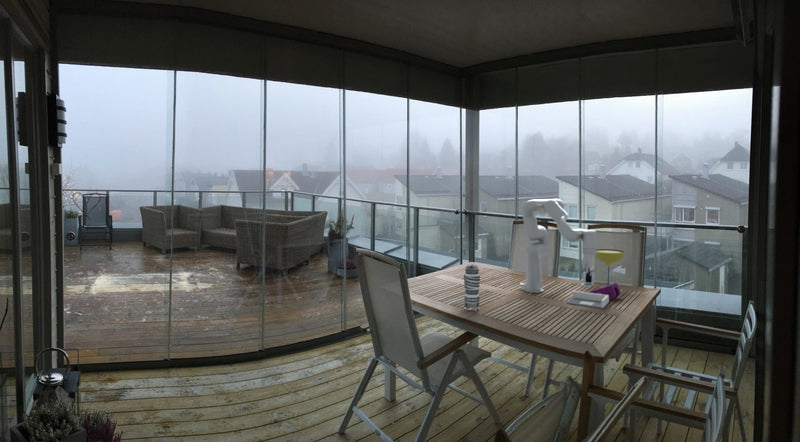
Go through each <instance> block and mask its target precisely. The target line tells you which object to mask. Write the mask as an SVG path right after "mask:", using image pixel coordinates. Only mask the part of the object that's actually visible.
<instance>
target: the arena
mask: <svg viewBox="0 0 800 442" xmlns="http://www.w3.org/2000/svg"><path fill="white" fill-rule="evenodd" d="M572 292H573V293H572V298H570V299H569V301H567V302H566V304H567V305H573V306H580V307H586V308H594V309H601V310H602V309H603V310H604V309H605V307H606V306H607V305H608V304H609V302H610V301H609V295H602V294H601V293H596V294H594V293H587V292H586V291H585V292H583V291H579V290H573V291H572Z"/></svg>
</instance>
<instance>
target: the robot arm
mask: <svg viewBox="0 0 800 442" xmlns="http://www.w3.org/2000/svg"><path fill="white" fill-rule="evenodd" d="M564 208H565V204H564V201H563V200H562V199H559V198H542V199H541V198H540V199H539V198H538V199H530V200H527V201H525V202H524V203H523V205H522V207H521V215H522V216H521V217H522V219H523V228H524V236H525V238H526V240H528V241H529V242H532V243H529V244H527V245H526V246H525V249H524V256H525V259H526V260H525V261H526V263H525V264H526V265H525V267H526V268H525V269H526V270H525V273H526V274H525V283H522V282H520V283H519V285H520V287H522V288H523V287H524V288H523V291H524V292H527V293H530V294H531V293H533V294H534V293H535V294H538V293H539V294H540V293H543V292H545V291H544V289H543V288H542V261H541V257H545V256H547V255H549V253H550V240H549V234H548V231H547V228H546V227H545V226H542V225H538V219H537V216H536V215H535V213H547V215H548V216H549V217H550V218H551V219H552V220H553V221H554V222H555V223H556V227H557V230H558V232H559V234H560V235H561V236H563V238H564V239H565V240H566V241H568V242H569V243H576V242H577V243H578V242H582V249H581V251H582V254H583V258H582V267H581V270H582V271H583V272H586V282H589V283H591V282H592V276H591V273H593V270H595V268H596V267H595V266H596V265H595V261H596V259H595V258H596V257H595V254H596V250H597V240H598V239H597V238H598V237H597V236H598V234H597V231H596V230H595V229H584V228H572V227H571V226H570V225H569V224H568V223H567V219H568V218H569V214H568V213H567V212H566V211H565V209H564Z"/></svg>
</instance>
